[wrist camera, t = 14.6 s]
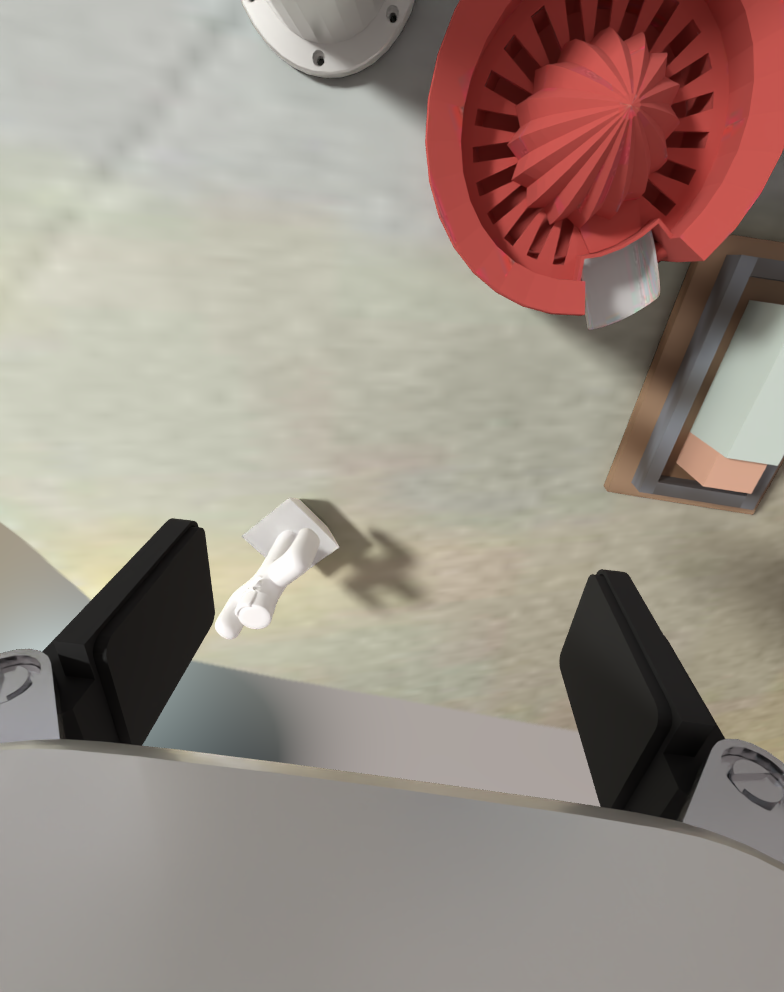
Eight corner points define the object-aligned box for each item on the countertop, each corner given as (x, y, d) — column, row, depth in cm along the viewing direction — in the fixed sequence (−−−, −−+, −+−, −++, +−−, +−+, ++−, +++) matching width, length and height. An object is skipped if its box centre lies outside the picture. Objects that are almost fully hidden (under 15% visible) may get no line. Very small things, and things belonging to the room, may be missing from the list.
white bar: (749, 299, 37) (802, 308, 31) (800, 307, 37) (862, 316, 31) (675, 462, 43) (709, 491, 38) (719, 469, 43) (758, 499, 38)
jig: (702, 232, 36) (725, 230, 33) (885, 259, 36) (923, 260, 33) (603, 486, 46) (614, 501, 43) (745, 508, 46) (765, 525, 43)
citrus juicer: (481, 343, 41) (514, 412, 23) (396, 121, 34) (353, -18, 17) (670, 256, 37) (884, 260, 19) (614, -16, 30) (863, -393, 13)
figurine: (353, 523, 51) (323, 618, 37) (293, 566, 54) (246, 668, 41) (306, 475, 49) (256, 559, 35) (247, 523, 52) (181, 616, 39)
